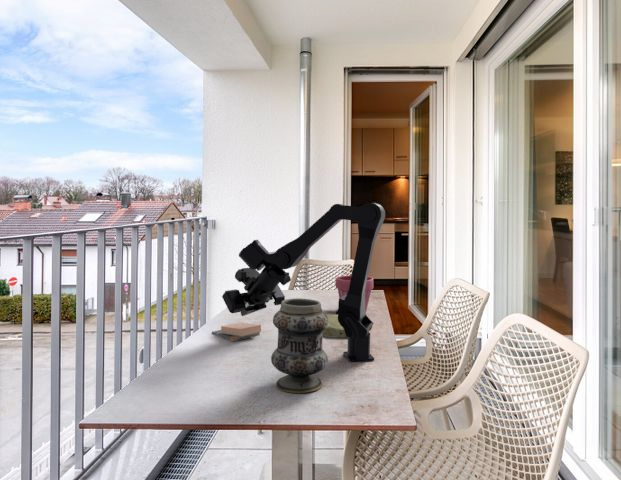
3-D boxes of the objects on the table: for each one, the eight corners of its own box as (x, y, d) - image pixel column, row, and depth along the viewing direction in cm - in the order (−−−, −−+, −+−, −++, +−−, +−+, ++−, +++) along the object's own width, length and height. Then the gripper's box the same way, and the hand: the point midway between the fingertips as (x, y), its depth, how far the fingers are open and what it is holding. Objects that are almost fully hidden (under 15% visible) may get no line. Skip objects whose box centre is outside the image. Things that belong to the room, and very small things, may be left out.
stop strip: (259, 335, 132) (259, 331, 132) (231, 341, 125) (231, 337, 125) (257, 334, 133) (257, 330, 133) (229, 340, 126) (229, 336, 125)
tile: (260, 324, 129) (240, 322, 136) (241, 329, 124) (221, 326, 131) (261, 332, 129) (240, 329, 136) (241, 336, 124) (221, 333, 131)
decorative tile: (307, 321, 152) (307, 310, 151) (365, 325, 148) (365, 314, 147) (293, 336, 133) (293, 324, 133) (360, 340, 129) (360, 328, 129)
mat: (256, 334, 132) (256, 333, 132) (231, 340, 126) (231, 338, 126) (236, 328, 139) (236, 326, 139) (211, 333, 133) (211, 331, 133)
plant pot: (328, 308, 169) (329, 275, 168) (361, 306, 174) (362, 274, 173) (344, 317, 156) (345, 281, 155) (379, 314, 160) (380, 279, 160)
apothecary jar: (338, 384, 95) (340, 301, 94) (300, 401, 86) (301, 310, 85) (298, 370, 103) (299, 294, 102) (259, 384, 94) (259, 301, 93)
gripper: (278, 257, 131) (255, 289, 140) (226, 261, 118) (203, 296, 126) (296, 287, 126) (271, 318, 135) (243, 295, 113) (219, 329, 121)
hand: (242, 314), depth 129 cm, fingers closed
